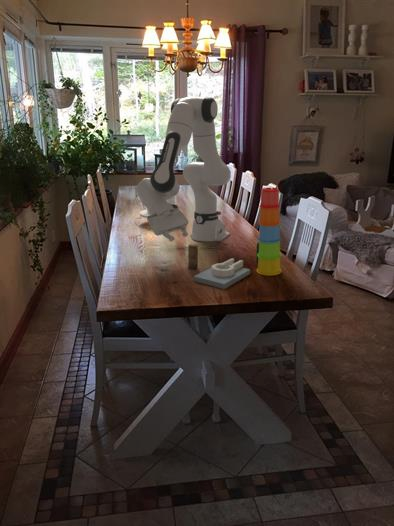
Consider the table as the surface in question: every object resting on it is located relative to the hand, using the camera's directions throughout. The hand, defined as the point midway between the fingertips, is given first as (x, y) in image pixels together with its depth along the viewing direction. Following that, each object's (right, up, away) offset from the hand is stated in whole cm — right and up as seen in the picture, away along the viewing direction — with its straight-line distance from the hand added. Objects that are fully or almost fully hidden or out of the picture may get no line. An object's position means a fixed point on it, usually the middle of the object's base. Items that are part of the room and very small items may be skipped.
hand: (179, 238), depth 185 cm
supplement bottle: (+37, -11, +8) cm, 39 cm away
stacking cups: (+37, -14, -3) cm, 40 cm away
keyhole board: (+18, -16, -10) cm, 26 cm away
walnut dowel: (+6, -13, 0) cm, 14 cm away
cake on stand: (-14, +13, +75) cm, 77 cm away
